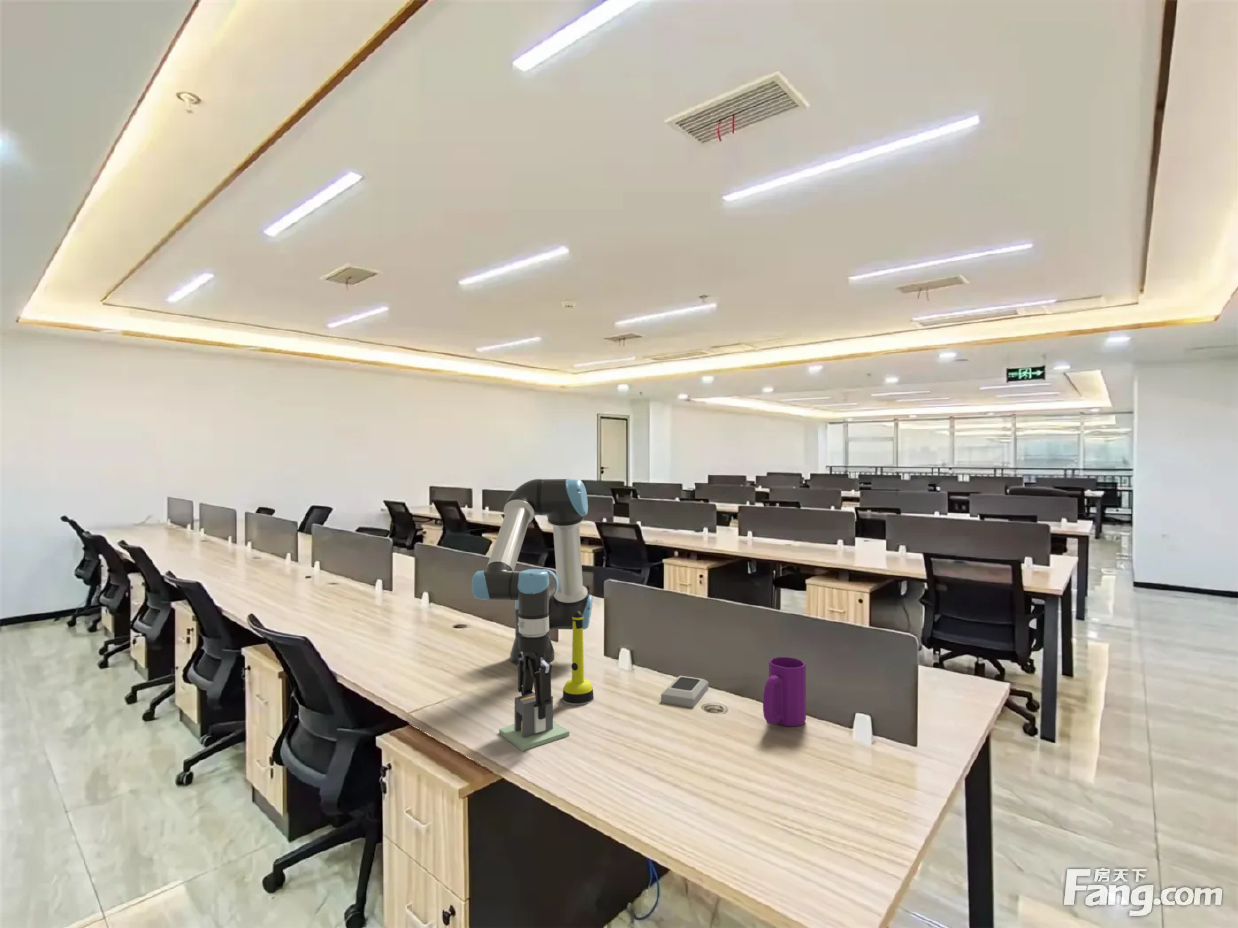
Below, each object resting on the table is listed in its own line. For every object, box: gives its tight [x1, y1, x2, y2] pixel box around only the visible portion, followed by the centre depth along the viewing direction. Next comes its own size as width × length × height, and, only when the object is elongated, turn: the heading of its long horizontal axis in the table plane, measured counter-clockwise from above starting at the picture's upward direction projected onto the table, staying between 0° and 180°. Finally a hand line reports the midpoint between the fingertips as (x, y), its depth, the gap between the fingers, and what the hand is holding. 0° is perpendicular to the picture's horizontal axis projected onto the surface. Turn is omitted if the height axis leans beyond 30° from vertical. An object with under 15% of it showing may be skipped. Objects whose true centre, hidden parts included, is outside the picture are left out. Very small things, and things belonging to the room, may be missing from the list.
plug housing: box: [513, 692, 554, 737], centre depth 147 cm, size 8×5×8 cm, turn 126°
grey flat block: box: [660, 675, 709, 708], centre depth 171 cm, size 10×4×15 cm
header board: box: [499, 720, 570, 752], centre depth 147 cm, size 13×12×4 cm
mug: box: [762, 656, 807, 727], centre depth 152 cm, size 9×16×15 cm, turn 136°
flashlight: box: [561, 611, 595, 706], centre depth 169 cm, size 25×9×9 cm
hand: (534, 726), depth 147 cm, fingers closed on plug housing, 5 cm apart
